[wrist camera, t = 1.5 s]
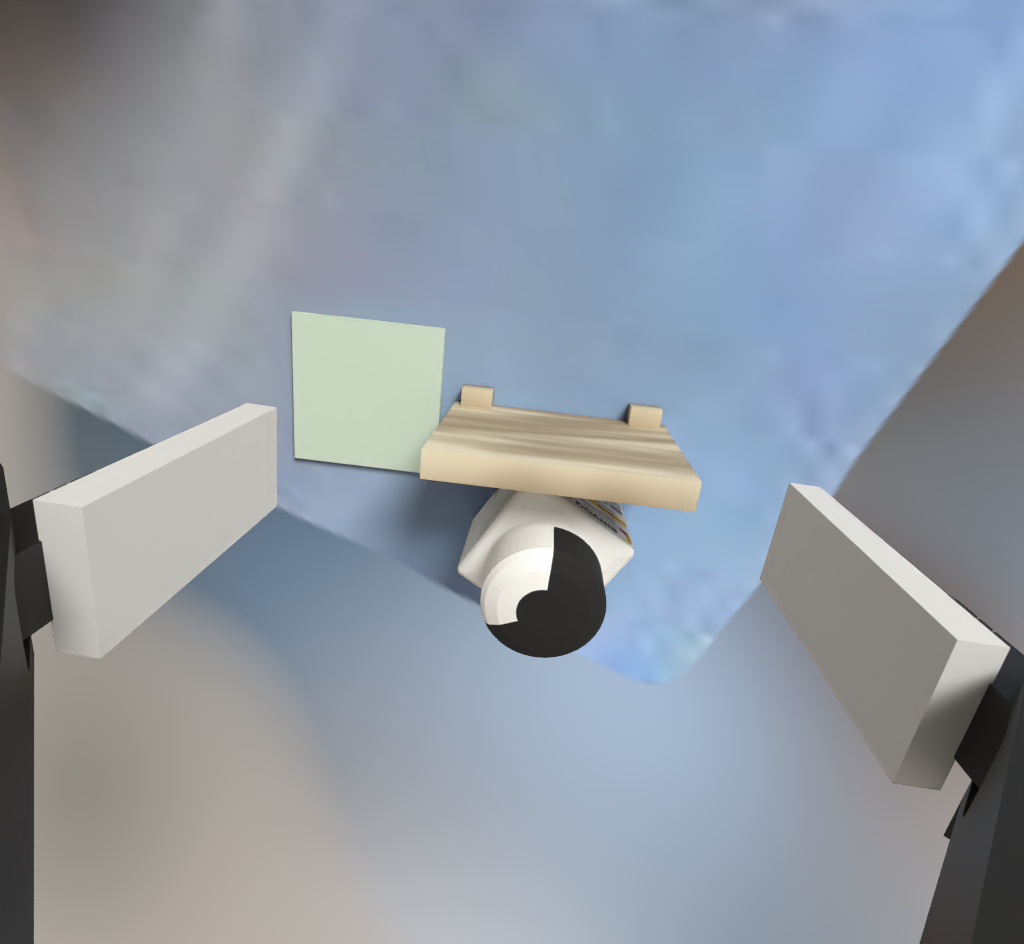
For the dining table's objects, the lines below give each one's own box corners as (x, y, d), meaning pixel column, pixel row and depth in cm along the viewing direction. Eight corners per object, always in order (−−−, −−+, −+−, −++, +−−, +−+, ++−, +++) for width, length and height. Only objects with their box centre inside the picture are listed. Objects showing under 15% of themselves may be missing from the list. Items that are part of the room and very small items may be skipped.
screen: (457, 383, 40) (422, 425, 29) (667, 407, 39) (707, 459, 29) (452, 440, 41) (418, 500, 31) (656, 464, 41) (690, 533, 30)
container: (623, 503, 42) (651, 603, 30) (555, 579, 44) (555, 701, 32) (535, 439, 41) (527, 514, 28) (470, 520, 43) (437, 623, 31)
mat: (294, 311, 39) (291, 311, 39) (445, 328, 39) (444, 328, 38) (297, 455, 42) (294, 457, 42) (436, 472, 42) (435, 474, 42)
